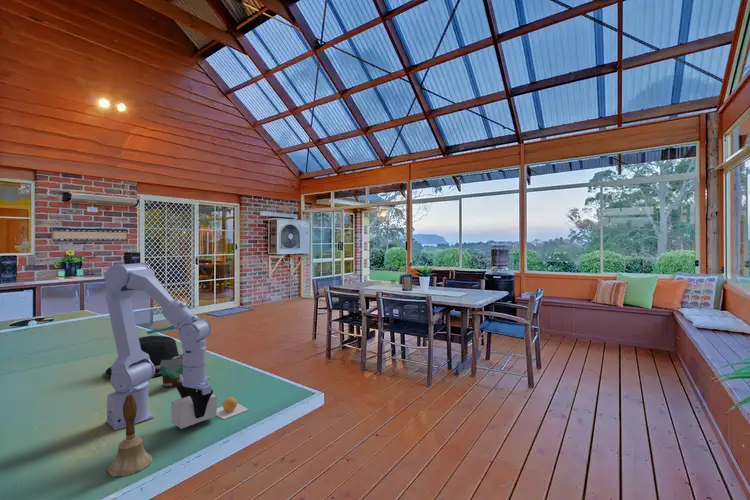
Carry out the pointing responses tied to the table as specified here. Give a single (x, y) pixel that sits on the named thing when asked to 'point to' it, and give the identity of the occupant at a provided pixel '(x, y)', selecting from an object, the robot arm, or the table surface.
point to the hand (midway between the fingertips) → (194, 413)
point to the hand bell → (130, 445)
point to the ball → (229, 404)
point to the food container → (172, 371)
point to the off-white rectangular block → (191, 411)
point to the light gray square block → (225, 414)
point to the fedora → (156, 351)
